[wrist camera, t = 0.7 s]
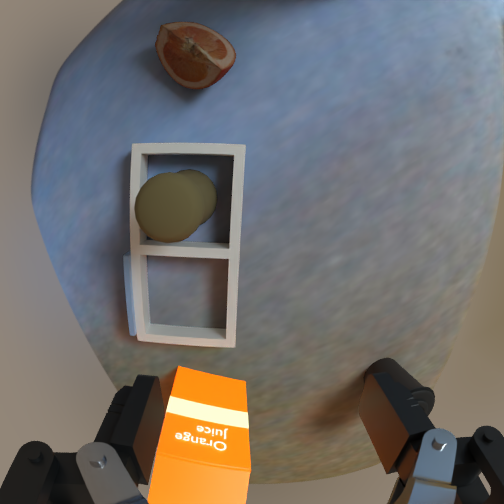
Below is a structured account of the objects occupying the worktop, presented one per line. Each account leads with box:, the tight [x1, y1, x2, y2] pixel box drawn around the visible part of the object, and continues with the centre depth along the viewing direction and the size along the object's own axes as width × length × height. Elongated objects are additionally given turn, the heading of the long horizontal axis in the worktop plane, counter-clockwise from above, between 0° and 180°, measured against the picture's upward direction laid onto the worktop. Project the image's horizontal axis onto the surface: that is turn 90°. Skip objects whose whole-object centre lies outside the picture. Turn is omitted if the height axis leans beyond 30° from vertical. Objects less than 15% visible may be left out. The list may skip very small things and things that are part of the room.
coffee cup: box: [364, 358, 435, 416], centre depth 33 cm, size 8×8×10 cm
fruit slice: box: [155, 22, 236, 89], centre depth 25 cm, size 8×7×5 cm
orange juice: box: [148, 366, 251, 504], centre depth 27 cm, size 8×9×20 cm
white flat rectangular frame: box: [123, 143, 246, 348], centre depth 30 cm, size 21×12×3 cm, turn 177°
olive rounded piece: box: [134, 169, 217, 243], centre depth 25 cm, size 6×6×11 cm
